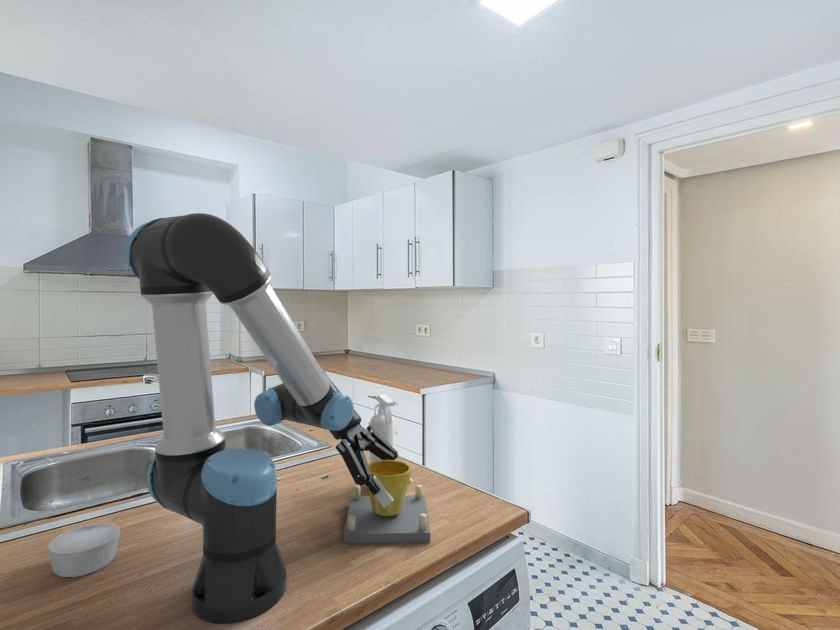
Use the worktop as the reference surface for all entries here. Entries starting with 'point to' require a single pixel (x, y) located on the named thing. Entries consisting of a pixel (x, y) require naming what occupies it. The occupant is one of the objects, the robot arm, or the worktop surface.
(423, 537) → the peg board
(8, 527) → the worktop surface
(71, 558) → the ramekin
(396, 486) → the plant pot
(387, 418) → the white spray bottle
